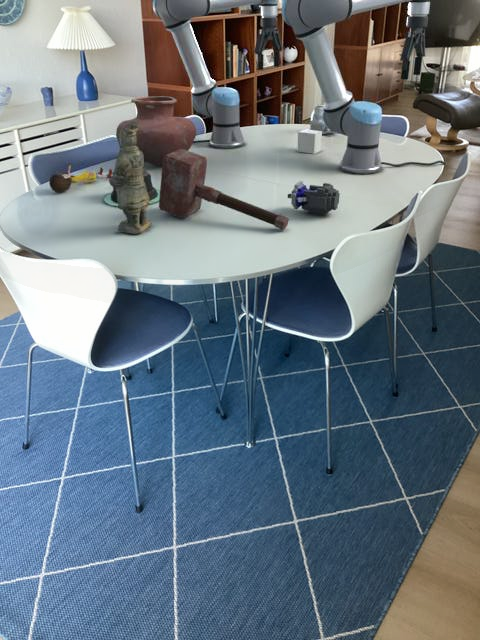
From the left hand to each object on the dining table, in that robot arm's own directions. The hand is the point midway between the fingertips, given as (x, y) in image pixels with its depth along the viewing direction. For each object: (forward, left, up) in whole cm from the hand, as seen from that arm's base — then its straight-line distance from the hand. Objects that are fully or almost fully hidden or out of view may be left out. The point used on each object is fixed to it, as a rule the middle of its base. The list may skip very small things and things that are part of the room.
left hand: (268, 68), depth 261 cm
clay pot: (-20, -74, -28) cm, 81 cm away
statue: (+9, -140, -28) cm, 143 cm away
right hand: (+68, -25, +1) cm, 73 cm away
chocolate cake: (-6, -114, -28) cm, 118 cm away
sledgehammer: (+31, -125, -28) cm, 132 cm away
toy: (+54, -109, -28) cm, 125 cm away
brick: (+31, -35, -28) cm, 55 cm away
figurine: (-32, -109, -28) cm, 117 cm away
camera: (+29, +1, -28) cm, 40 cm away
